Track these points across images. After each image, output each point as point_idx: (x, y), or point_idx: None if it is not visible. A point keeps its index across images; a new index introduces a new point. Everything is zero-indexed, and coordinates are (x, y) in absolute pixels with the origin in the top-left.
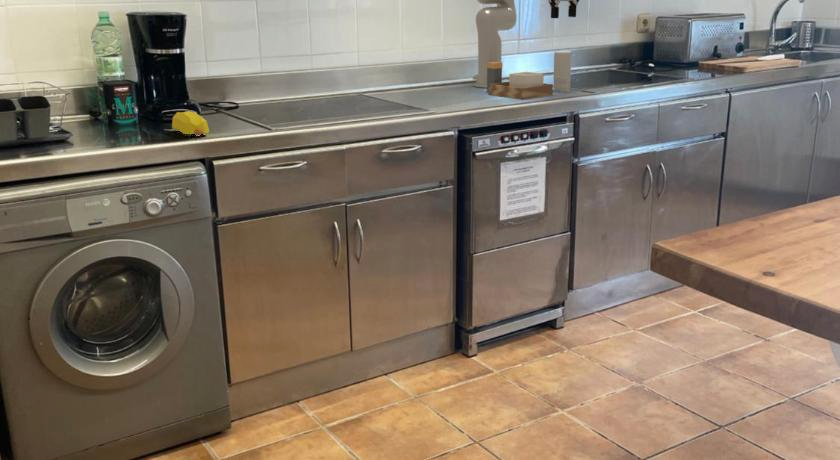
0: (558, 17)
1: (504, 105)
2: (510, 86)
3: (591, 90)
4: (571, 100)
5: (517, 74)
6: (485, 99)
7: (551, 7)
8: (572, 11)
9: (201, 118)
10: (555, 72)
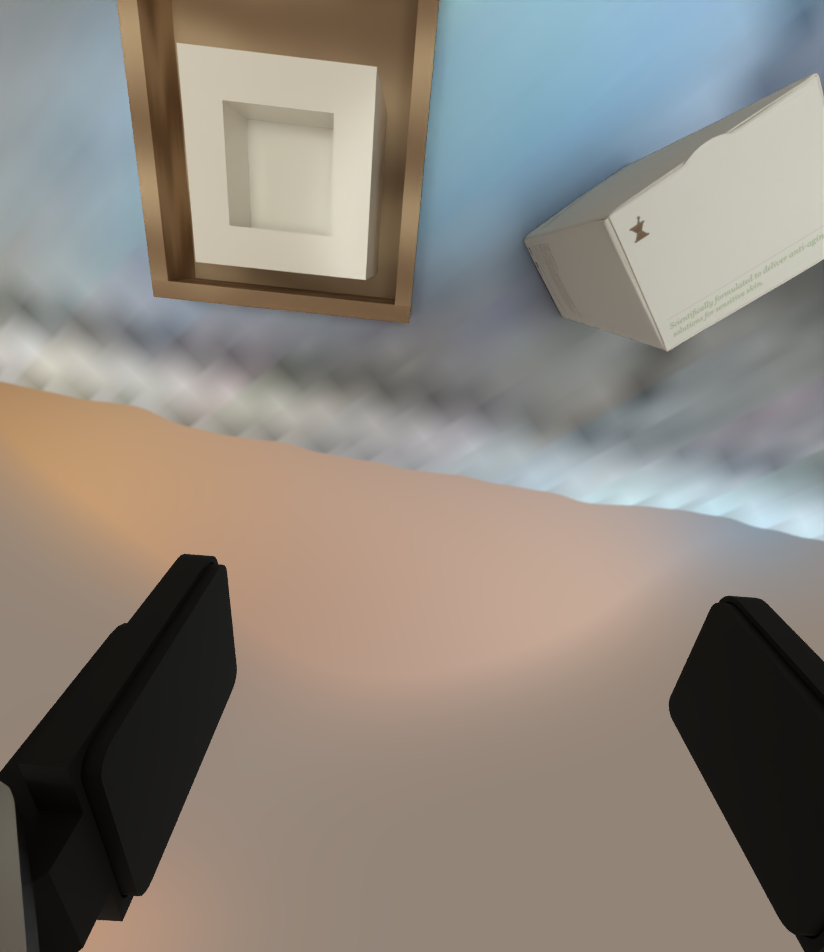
0: (234, 682)
1: (28, 301)
2: (152, 158)
3: (726, 342)
4: (372, 452)
5: (196, 140)
6: (55, 42)
7: (39, 749)
8: (739, 761)
9: None
10: (556, 241)
